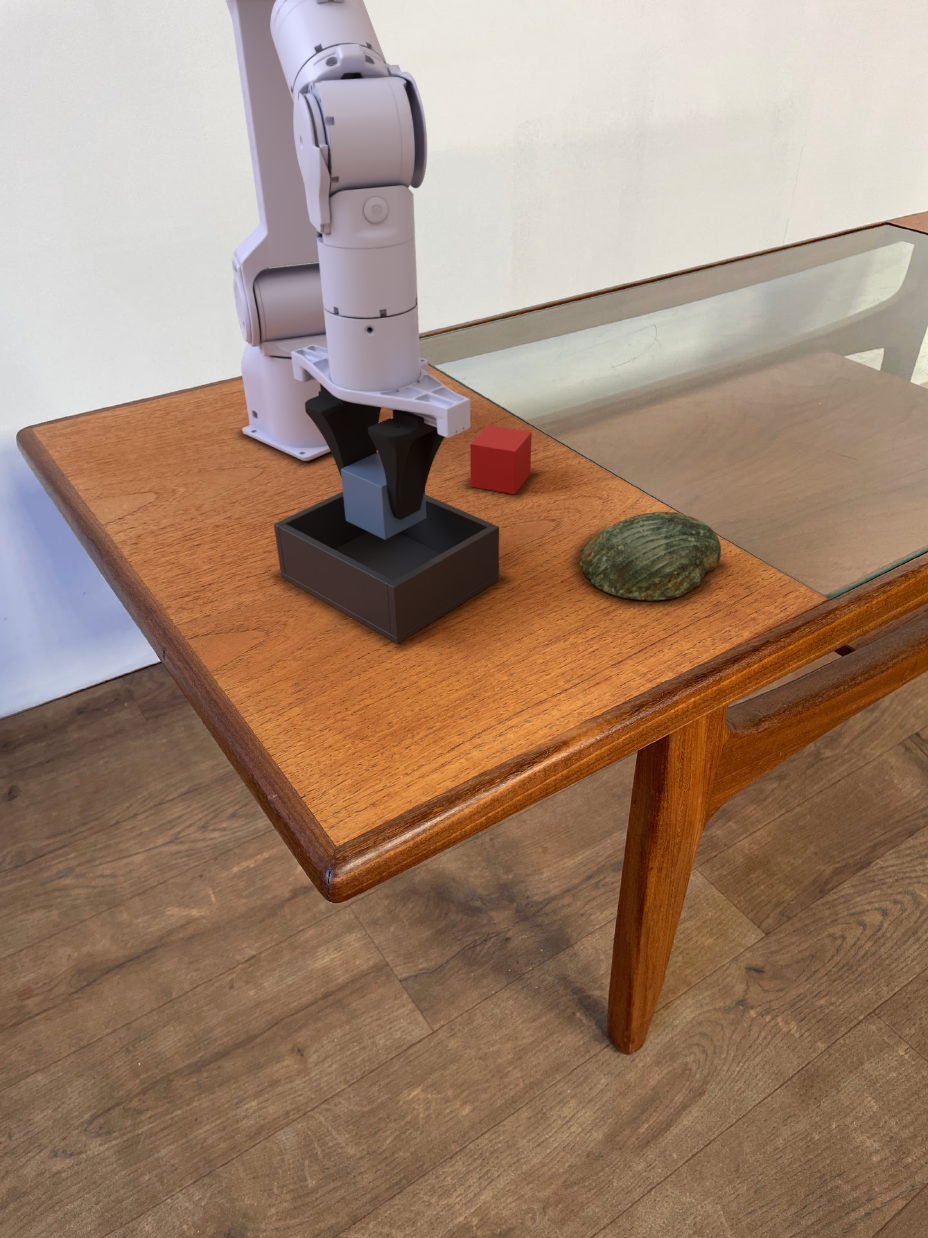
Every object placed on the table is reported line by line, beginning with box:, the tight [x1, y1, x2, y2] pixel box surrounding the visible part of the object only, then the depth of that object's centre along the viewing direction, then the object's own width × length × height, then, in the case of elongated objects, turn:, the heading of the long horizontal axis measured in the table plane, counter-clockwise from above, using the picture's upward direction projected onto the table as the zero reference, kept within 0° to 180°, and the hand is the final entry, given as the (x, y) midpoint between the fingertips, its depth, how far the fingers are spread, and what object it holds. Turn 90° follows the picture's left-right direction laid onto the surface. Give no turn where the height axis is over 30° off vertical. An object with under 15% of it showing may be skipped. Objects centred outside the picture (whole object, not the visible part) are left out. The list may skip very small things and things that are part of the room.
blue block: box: [340, 451, 426, 540], centre depth 66 cm, size 4×4×4 cm
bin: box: [273, 491, 500, 645], centre depth 68 cm, size 12×10×4 cm
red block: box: [469, 424, 533, 495], centre depth 81 cm, size 4×4×4 cm
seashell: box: [579, 511, 722, 602], centre depth 70 cm, size 10×4×10 cm
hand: (384, 502), depth 66 cm, fingers closed on blue block, 4 cm apart
